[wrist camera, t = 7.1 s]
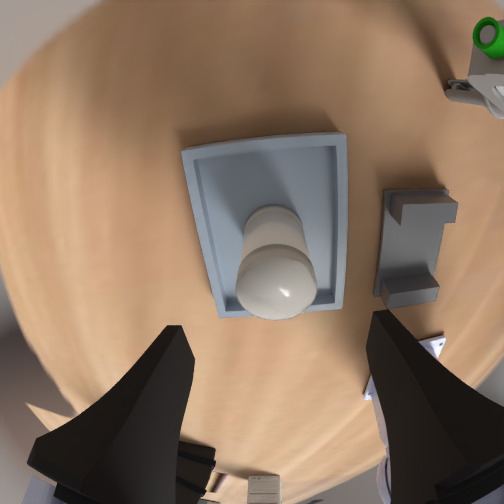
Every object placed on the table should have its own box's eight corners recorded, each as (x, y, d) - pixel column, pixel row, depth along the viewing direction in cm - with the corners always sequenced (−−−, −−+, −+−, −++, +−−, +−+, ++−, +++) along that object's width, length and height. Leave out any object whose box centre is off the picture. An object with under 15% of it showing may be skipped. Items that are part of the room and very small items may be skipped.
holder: (428, 285, 20) (438, 302, 18) (373, 293, 21) (381, 312, 19) (446, 188, 16) (462, 199, 14) (383, 189, 16) (397, 201, 15)
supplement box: (282, 480, 51) (281, 523, 40) (252, 481, 52) (250, 523, 41) (280, 474, 48) (280, 522, 37) (248, 475, 49) (245, 521, 38)
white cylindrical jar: (304, 253, 18) (317, 316, 13) (248, 259, 19) (242, 323, 14) (301, 201, 17) (316, 251, 11) (240, 207, 17) (228, 260, 12)
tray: (338, 295, 21) (342, 308, 19) (221, 304, 22) (219, 318, 20) (339, 131, 15) (346, 134, 14) (187, 147, 16) (180, 151, 14)
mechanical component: (492, 141, 14) (591, 190, 5) (384, 73, 13) (500, 65, 4) (500, 108, 12) (600, 142, 3) (393, 34, 11) (504, 1, 3)
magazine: (230, 463, 39) (184, 522, 27) (170, 425, 43) (119, 476, 31) (234, 458, 37) (185, 522, 25) (170, 417, 41) (115, 472, 29)
